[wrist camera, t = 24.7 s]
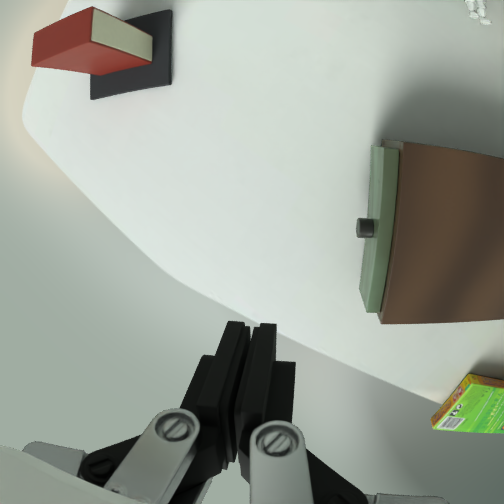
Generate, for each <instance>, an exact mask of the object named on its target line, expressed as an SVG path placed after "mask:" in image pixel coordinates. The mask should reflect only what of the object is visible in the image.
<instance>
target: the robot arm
mask: <svg viewBox="0 0 504 504" xmlns="http://www.w3.org/2000/svg"><path fill="white" fill-rule="evenodd" d="M276 331H277V324H270V323H261V324H260V327H254V330H253V334H252V338H250V337H251V336H250V326H245V323H244V322H237V321H228V323H227V325H226V328H225V330H224V333H223V336H222V338H221V341H220V343H219V346H218V349H217V351H216V354H215V356H212V355H203V356H202V357H201V359H200V362H199V364H198V366H197V369H196V371H195V373H194V376H193V378H192V380H191V383H190V385H189V387H188V390H187V392H186V394H185V397H184V399H183V401H182V404H181V406H180V408H174V409H168V410H164V411H162V412H160V413H159V414H157V415H156V416H155V417H154V418H153V419H152V421H151V422H150V424H149V425H148V427H147V428H146V429H145V431H144V432H143V433H142V434H141V435H139V436H136V437H134V438H131V439H128V440H125V441H123V442H120V443H117V444H114V445H111V446H108V447H106V448H103V449H100V450H97V451H94V452H92V453H90V454H87V453H85V451H84V450H78V449H72V448H67V447H62V446H57V445H53V444H48V443H43V442H36V441H35V442H31V443H29V444H28V445H26V446H25V447H24V449H23V450H22V451H20V450H17V449H14V448H11V447H6V446H2V445H0V504H201V503H202V501H203V499H204V497H205V494H206V493H207V490H208V489H209V486H210V484H211V482H212V478H213V477H214V476H216V475H217V474H219V473H221V471H222V469H225V470H227V468H228V464H229V462H235V459H236V455H237V451H238V459H239V463H240V468H241V476H242V477H243V478H244V479H245V480H246V481H247V482H248V483H249V484H250V504H449V503H448V501H447V500H445V499H443V498H442V497H437V496H409V495H392V494H381V493H377V494H376V495H368V494H363V493H362V491H360V490H359V489H358V488H356V487H355V486H354V485H352V484H351V483H350V482H348V481H347V480H346V479H344V478H343V477H342V476H340V475H339V474H338V473H336V472H335V471H334V470H332V469H331V468H330V467H328V466H327V465H326V464H325V463H324V462H322V461H321V460H320V459H318V458H317V457H316V456H315V455H314V454H312V453H311V452H310V451H309V450H307V449H306V447H305V440H304V437H303V434H302V432H301V431H300V429H299V428H298V427H296V426H295V425H293V424H292V412H293V399H294V384H295V366H296V362H287V361H276Z"/></svg>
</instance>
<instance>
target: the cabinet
mask: <svg viewBox="0 0 504 504" xmlns="http://www.w3.org/2000/svg"><path fill="white" fill-rule="evenodd" d="M382 146H385V147H390V148H395V149H399V157H400V165H398V172H399V181H398V182H397V187H398V194H397V195H396V200H397V206H395V210H396V216H394V220H395V225H393V229H394V233H393V234H392V237H393V241H392V242H391V245H392V249H390V252H391V256H389V259H390V263H388V266H389V269H388V270H387V272H388V275H387V276H386V278H387V281H386V282H385V288H384V293H383V299H382V304H381V309H380V313H377V315H378V317H379V320H380V323H381V324H426V323H452V322H471V321H487V320H500V319H504V159H503V158H499V157H494V156H490V155H485V154H480V153H475V152H470V151H464V150H459V149H453V148H447V147H440V146H434V145H427V144H419V143H412V142H403V141H394V140H385V139H382Z"/></svg>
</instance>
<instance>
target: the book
mask: <svg viewBox="0 0 504 504" xmlns="http://www.w3.org/2000/svg"><path fill="white" fill-rule="evenodd" d="M32 49H33V50H32V61H31V66H34V67H44V68H53V69H61V70H68V71H75V72H82V73H88V74H94V75H99V76H101V75H105V74H108V73H112V72H116V71H120V70H124V69H129V68H133V67H137V66H142V65H147V64H151V63H152V35H150V34H148V33H146V32H144V31H142V30H140V29H138V28H136V27H135V26H133V25H131V24H129V23H127V22H125V21H123V20H121V19H119V18H117V17H114V16H112V15H110V14H108V13H106V12H104V11H102V10H100V9H97V8H95V7H93V6H92V7H89V8H87V9H84V10H82V11H79V12H77V13H75V14H72V15H70V16H68V17H66V18H64V19H61V20H59V21H57V22H55V23H53V24H51V25H49V26H47V27H45V28H43V29H41V30H39V31H37V32H35V33H34V39H33V48H32Z"/></svg>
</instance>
